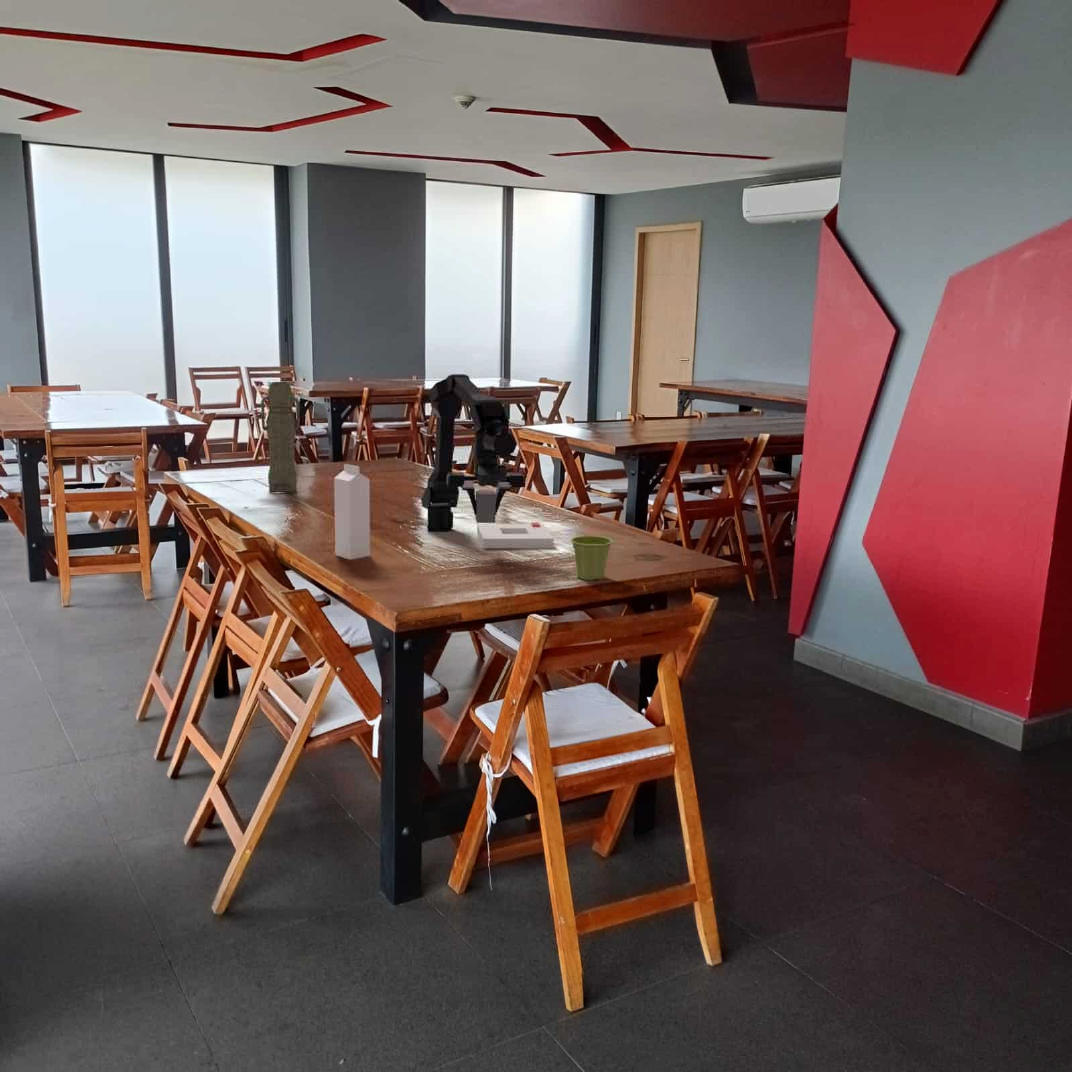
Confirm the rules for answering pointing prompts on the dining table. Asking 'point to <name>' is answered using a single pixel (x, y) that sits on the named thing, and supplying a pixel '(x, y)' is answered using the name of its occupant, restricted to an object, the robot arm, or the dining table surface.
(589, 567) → the plant pot
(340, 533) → the milk
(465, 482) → the robot arm
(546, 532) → the socket plate
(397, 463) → the dining table surface
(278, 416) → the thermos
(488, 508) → the plug
